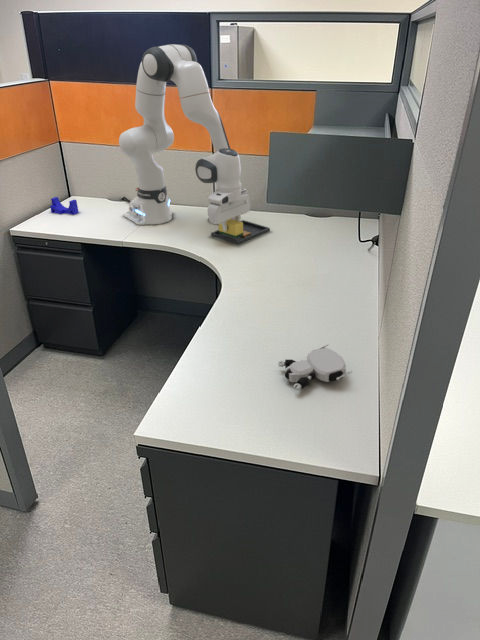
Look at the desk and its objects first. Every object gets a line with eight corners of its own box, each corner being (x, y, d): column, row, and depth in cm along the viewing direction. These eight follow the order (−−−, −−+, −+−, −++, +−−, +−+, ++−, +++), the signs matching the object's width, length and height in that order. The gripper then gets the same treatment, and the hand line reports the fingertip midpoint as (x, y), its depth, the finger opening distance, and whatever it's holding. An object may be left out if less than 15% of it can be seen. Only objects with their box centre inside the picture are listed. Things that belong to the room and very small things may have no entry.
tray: (211, 237, 201) (210, 232, 200) (243, 224, 213) (243, 220, 212) (237, 246, 192) (237, 241, 191) (269, 232, 205) (269, 227, 204)
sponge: (218, 232, 198) (218, 220, 196) (226, 229, 201) (226, 217, 199) (235, 237, 193) (235, 225, 191) (243, 234, 196) (243, 222, 194)
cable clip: (51, 212, 229) (48, 199, 226) (58, 209, 233) (55, 196, 230) (72, 215, 225) (69, 202, 222) (78, 212, 228) (76, 199, 225)
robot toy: (295, 400, 115) (353, 383, 119) (295, 385, 113) (354, 368, 116) (275, 370, 125) (329, 355, 129) (275, 356, 123) (330, 341, 126)
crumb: (236, 235, 201) (236, 233, 200) (243, 232, 203) (243, 230, 203) (244, 237, 198) (244, 235, 198) (250, 234, 201) (250, 232, 200)
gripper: (241, 186, 198) (242, 219, 205) (204, 198, 185) (206, 234, 192) (253, 189, 194) (254, 223, 201) (217, 201, 181) (218, 237, 188)
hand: (230, 228), depth 196 cm, fingers closed on sponge, 4 cm apart
